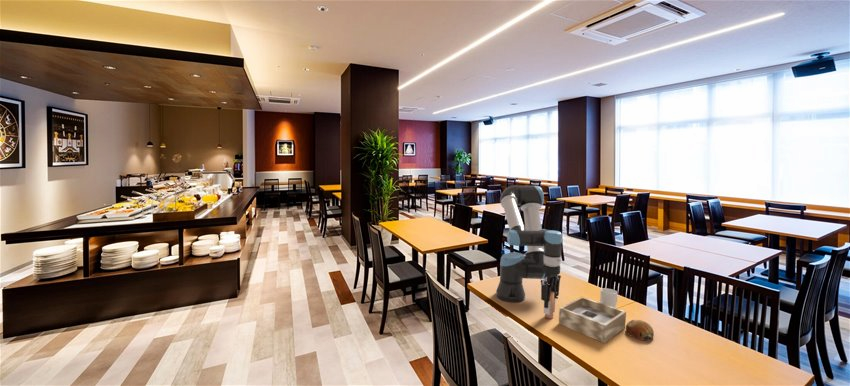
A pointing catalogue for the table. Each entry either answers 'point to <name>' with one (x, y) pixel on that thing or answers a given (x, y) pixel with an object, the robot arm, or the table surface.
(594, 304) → the socket box
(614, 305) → the mug
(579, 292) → the table surface
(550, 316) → the peg
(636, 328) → the bread roll
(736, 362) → the table surface
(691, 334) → the table surface
